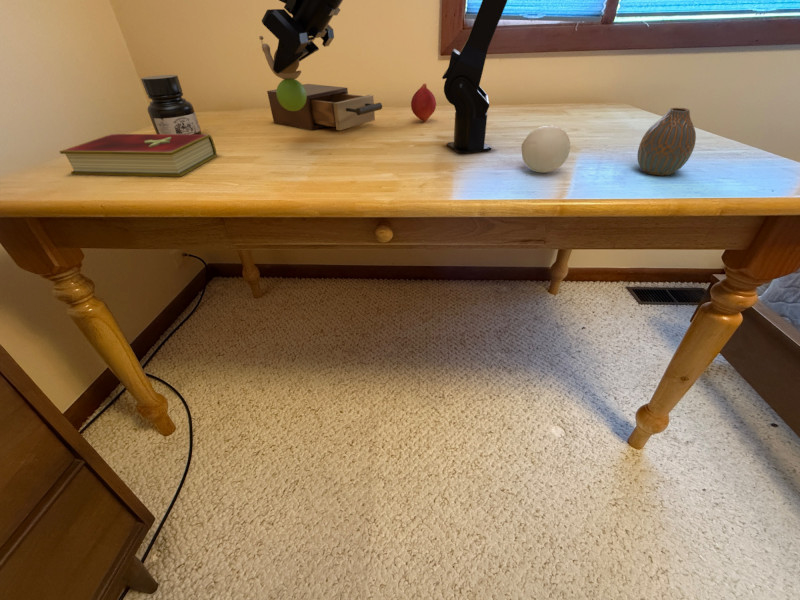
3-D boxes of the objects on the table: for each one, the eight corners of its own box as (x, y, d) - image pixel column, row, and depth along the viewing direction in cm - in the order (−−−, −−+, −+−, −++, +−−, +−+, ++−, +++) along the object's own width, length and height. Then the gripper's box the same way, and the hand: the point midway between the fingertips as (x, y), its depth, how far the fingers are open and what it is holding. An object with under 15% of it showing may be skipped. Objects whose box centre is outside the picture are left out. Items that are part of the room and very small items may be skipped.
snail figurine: (278, 110, 75) (263, 36, 68) (311, 108, 75) (299, 34, 68) (271, 114, 71) (254, 35, 64) (306, 112, 71) (292, 33, 64)
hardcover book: (121, 154, 77) (111, 132, 74) (217, 155, 74) (210, 132, 71) (72, 174, 67) (58, 149, 65) (180, 176, 64) (170, 150, 62)
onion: (408, 123, 90) (407, 85, 85) (414, 118, 94) (414, 81, 90) (432, 124, 89) (433, 85, 84) (437, 119, 93) (438, 81, 88)
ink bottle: (163, 146, 80) (138, 81, 73) (152, 139, 86) (128, 77, 79) (209, 137, 85) (190, 75, 78) (196, 131, 91) (177, 72, 84)
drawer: (389, 122, 88) (388, 96, 85) (354, 133, 81) (352, 105, 78) (335, 114, 97) (332, 90, 94) (300, 123, 90) (296, 98, 87)
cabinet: (350, 119, 96) (347, 87, 91) (312, 130, 88) (306, 95, 84) (312, 113, 103) (307, 83, 99) (273, 122, 95) (266, 90, 91)
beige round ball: (540, 161, 65) (547, 118, 61) (573, 173, 60) (584, 127, 56) (508, 168, 62) (514, 124, 58) (540, 181, 57) (549, 134, 53)
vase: (682, 182, 55) (709, 116, 50) (629, 174, 58) (649, 111, 53) (683, 168, 60) (708, 106, 55) (634, 162, 63) (654, 103, 58)
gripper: (306, -49, 66) (263, 31, 74) (257, -67, 51) (210, 37, 59) (355, 6, 69) (308, 77, 78) (323, 4, 55) (270, 92, 63)
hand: (277, 70), depth 69 cm, fingers closed on snail figurine
